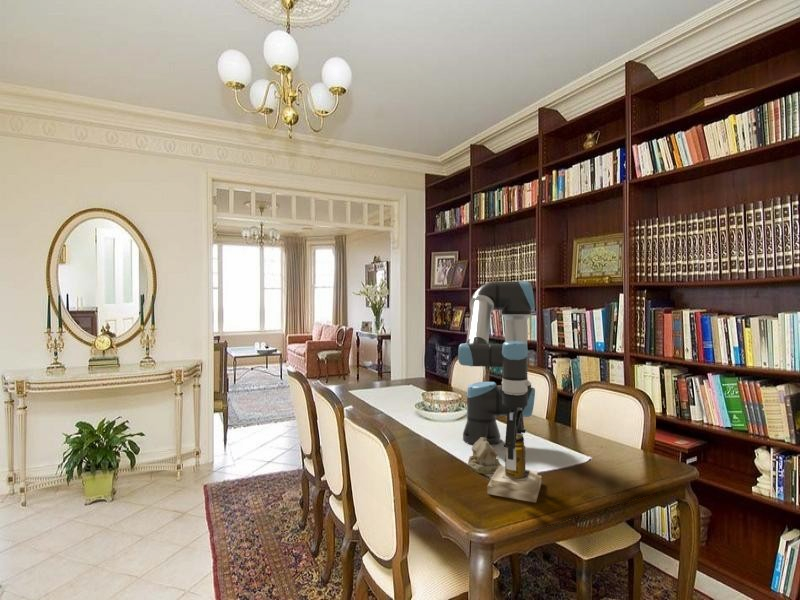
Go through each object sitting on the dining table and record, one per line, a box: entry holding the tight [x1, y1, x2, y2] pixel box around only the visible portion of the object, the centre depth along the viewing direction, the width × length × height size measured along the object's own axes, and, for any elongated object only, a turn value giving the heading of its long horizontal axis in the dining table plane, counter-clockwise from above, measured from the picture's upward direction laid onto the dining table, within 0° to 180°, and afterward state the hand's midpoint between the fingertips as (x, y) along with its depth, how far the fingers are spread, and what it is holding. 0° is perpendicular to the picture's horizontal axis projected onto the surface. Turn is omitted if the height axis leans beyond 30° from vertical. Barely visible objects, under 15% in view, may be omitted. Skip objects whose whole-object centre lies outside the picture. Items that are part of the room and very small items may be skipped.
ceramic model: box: [467, 437, 500, 475], centre depth 152 cm, size 14×11×10 cm
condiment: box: [502, 435, 531, 481], centre depth 135 cm, size 7×8×12 cm
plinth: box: [486, 465, 542, 503], centre depth 134 cm, size 14×14×4 cm
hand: (515, 461), depth 134 cm, fingers open, 13 cm apart
